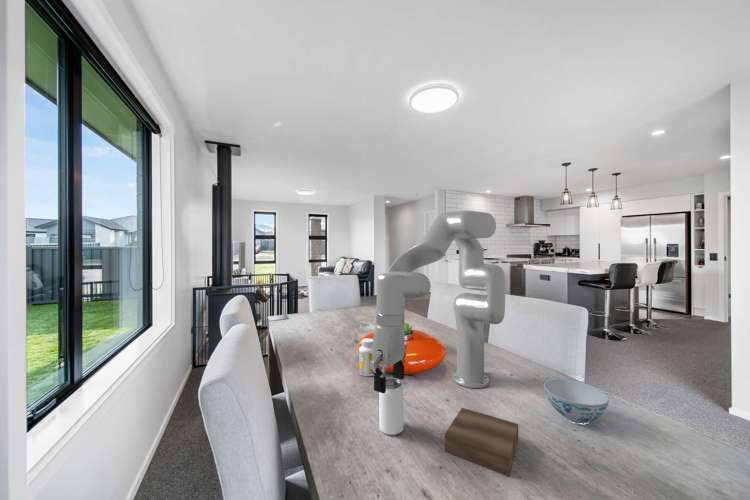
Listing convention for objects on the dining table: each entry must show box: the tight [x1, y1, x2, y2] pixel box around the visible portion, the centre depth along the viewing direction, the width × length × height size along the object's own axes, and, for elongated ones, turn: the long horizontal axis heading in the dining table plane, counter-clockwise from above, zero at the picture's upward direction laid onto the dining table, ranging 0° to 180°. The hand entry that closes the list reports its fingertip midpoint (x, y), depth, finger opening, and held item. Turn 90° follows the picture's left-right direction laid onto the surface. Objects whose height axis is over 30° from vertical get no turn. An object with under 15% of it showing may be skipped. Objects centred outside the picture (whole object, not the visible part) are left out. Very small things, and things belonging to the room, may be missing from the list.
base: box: [443, 407, 519, 478], centre depth 70 cm, size 14×14×4 cm
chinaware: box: [543, 378, 610, 424], centre depth 81 cm, size 15×15×8 cm
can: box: [378, 378, 404, 436], centre depth 77 cm, size 6×6×12 cm
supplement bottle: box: [358, 338, 374, 377], centre depth 112 cm, size 7×7×13 cm
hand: (389, 384), depth 77 cm, fingers open, 9 cm apart
